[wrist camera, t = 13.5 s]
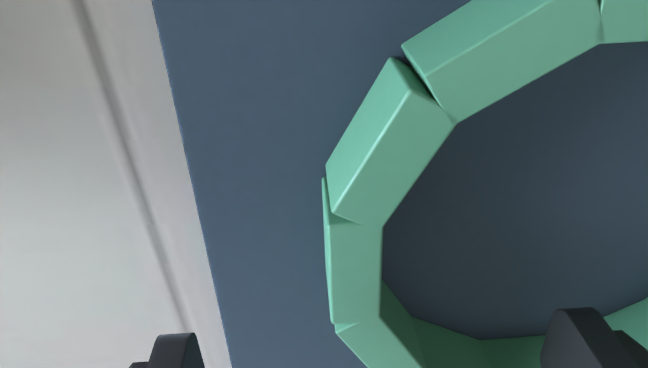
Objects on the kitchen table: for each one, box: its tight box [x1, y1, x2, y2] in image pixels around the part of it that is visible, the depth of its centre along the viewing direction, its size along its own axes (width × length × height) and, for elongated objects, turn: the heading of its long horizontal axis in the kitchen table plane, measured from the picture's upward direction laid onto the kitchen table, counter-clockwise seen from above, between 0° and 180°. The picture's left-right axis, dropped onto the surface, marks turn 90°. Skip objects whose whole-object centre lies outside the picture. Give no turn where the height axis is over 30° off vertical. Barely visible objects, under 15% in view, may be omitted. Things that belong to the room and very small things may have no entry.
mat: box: [152, 0, 648, 368], centre depth 15 cm, size 22×22×1 cm
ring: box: [322, 0, 648, 368], centre depth 13 cm, size 14×14×2 cm
